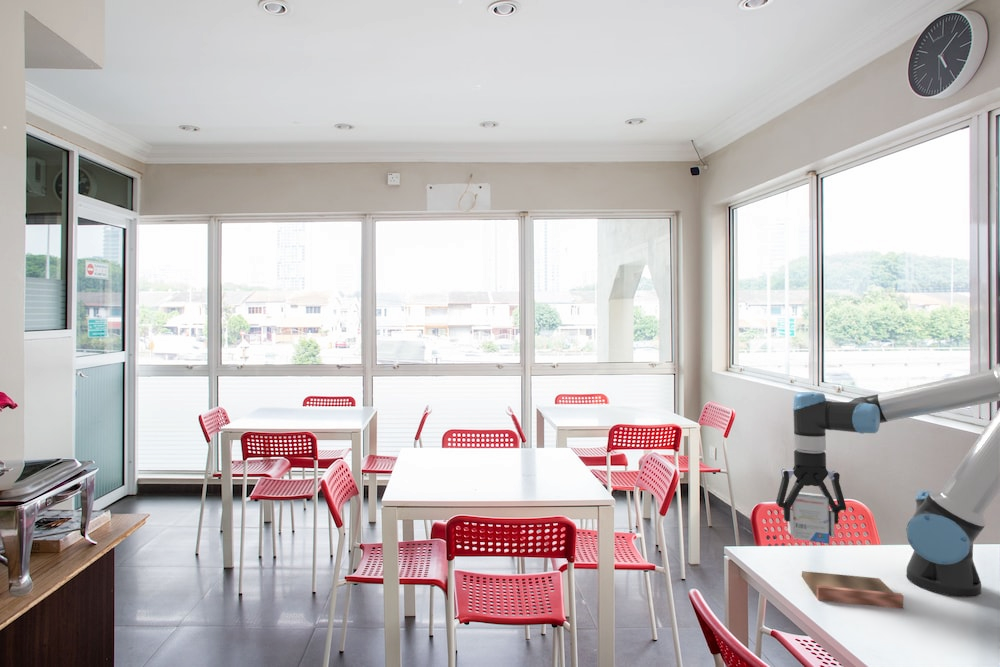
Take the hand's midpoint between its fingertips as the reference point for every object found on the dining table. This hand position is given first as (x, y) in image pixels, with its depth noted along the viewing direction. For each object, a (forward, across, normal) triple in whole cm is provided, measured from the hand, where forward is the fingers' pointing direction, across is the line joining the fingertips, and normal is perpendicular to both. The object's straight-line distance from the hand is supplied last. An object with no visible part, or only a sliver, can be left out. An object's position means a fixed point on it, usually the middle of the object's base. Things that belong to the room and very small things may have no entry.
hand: (810, 534), depth 157 cm
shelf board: (+10, -5, +12) cm, 16 cm away
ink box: (+1, 0, 0) cm, 1 cm away
